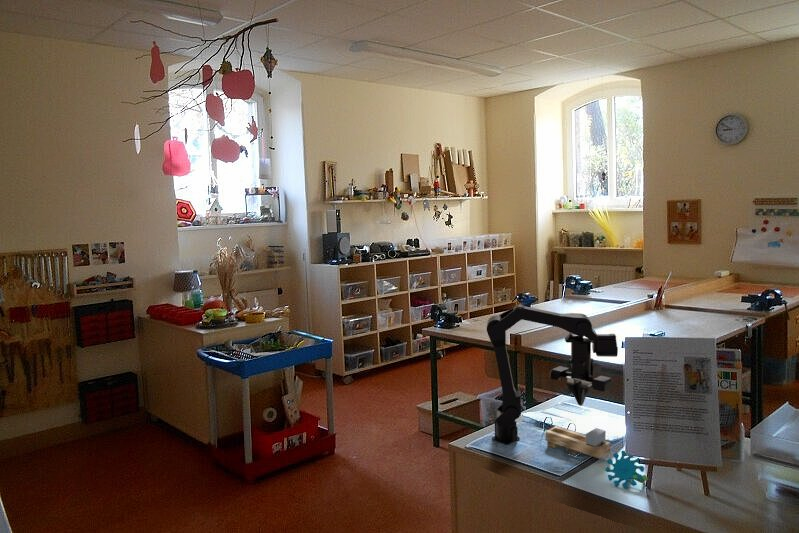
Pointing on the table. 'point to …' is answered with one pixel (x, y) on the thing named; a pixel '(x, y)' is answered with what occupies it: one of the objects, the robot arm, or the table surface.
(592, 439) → the white rectangular block
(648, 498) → the table surface
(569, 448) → the beam
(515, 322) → the robot arm
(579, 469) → the table surface
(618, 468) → the gear
